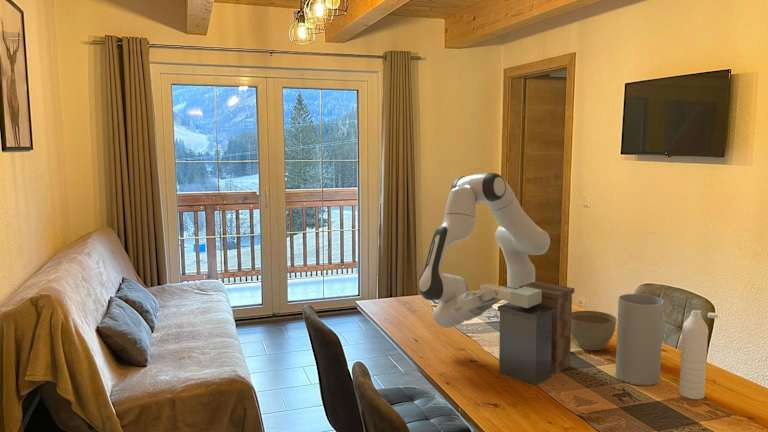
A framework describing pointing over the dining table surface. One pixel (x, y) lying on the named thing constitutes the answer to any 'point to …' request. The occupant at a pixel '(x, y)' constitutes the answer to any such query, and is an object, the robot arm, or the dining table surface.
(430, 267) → the robot arm
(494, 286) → the mallet
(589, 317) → the planter bowl
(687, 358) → the water bottle
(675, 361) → the dining table surface
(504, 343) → the dark grey box
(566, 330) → the tall stand
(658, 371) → the cylinder vase
